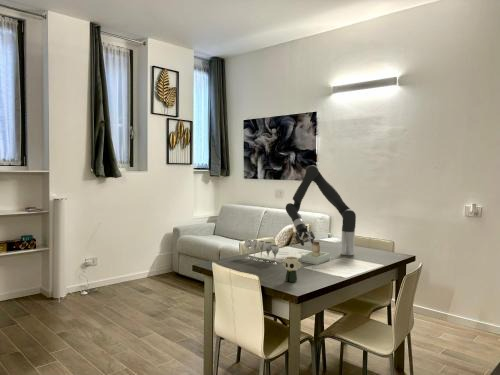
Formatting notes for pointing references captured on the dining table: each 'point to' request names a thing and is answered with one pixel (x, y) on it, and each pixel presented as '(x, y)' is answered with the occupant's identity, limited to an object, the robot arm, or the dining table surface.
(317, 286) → the dining table surface
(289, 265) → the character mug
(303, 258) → the bin
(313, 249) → the pepper mill
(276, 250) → the goblet set
